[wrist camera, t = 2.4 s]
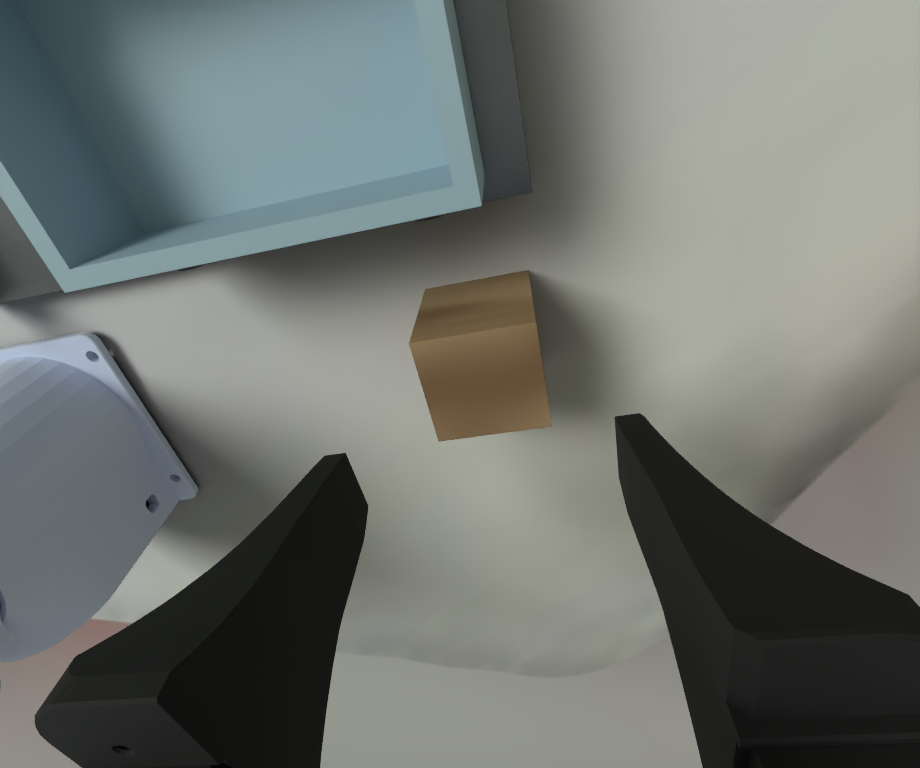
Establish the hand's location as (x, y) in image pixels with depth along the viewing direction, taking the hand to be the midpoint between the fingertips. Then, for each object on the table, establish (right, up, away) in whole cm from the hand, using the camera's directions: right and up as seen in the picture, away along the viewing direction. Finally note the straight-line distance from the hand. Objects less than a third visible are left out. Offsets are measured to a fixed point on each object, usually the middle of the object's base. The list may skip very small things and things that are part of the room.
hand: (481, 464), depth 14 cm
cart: (-7, +11, +1) cm, 13 cm away
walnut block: (+1, +4, +7) cm, 8 cm away
